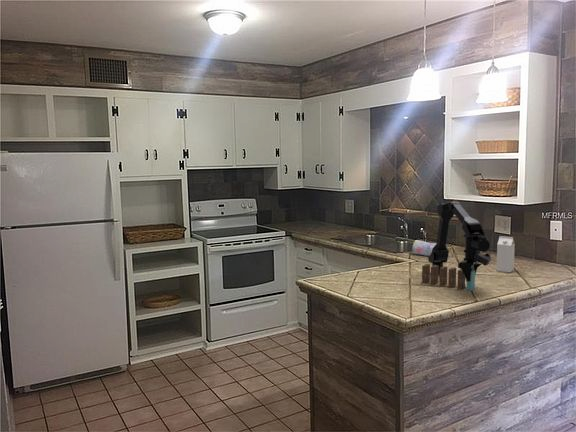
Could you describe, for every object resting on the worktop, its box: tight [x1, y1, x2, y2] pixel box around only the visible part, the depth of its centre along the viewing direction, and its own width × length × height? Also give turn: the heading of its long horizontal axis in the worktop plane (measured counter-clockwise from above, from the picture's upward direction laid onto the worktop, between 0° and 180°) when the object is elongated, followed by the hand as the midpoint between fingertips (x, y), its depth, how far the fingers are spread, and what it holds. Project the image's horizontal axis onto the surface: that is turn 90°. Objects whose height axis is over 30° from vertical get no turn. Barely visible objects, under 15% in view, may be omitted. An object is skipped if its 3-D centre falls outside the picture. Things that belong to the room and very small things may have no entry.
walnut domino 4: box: [447, 266, 457, 289], centre depth 236 cm, size 2×5×9 cm, turn 141°
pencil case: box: [411, 239, 437, 257], centre depth 307 cm, size 21×9×10 cm, turn 50°
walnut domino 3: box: [438, 265, 448, 287], centre depth 239 cm, size 2×5×9 cm, turn 141°
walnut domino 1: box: [421, 263, 431, 285], centre depth 244 cm, size 2×5×9 cm, turn 140°
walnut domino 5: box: [456, 268, 466, 290], centre depth 233 cm, size 2×5×9 cm, turn 141°
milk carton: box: [496, 235, 516, 273], centre depth 264 cm, size 7×7×19 cm
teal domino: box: [466, 270, 476, 292], centre depth 230 cm, size 2×5×9 cm, turn 140°
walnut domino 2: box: [430, 265, 439, 286], centre depth 242 cm, size 2×5×9 cm, turn 140°
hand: (470, 279), depth 230 cm, fingers open, 6 cm apart
